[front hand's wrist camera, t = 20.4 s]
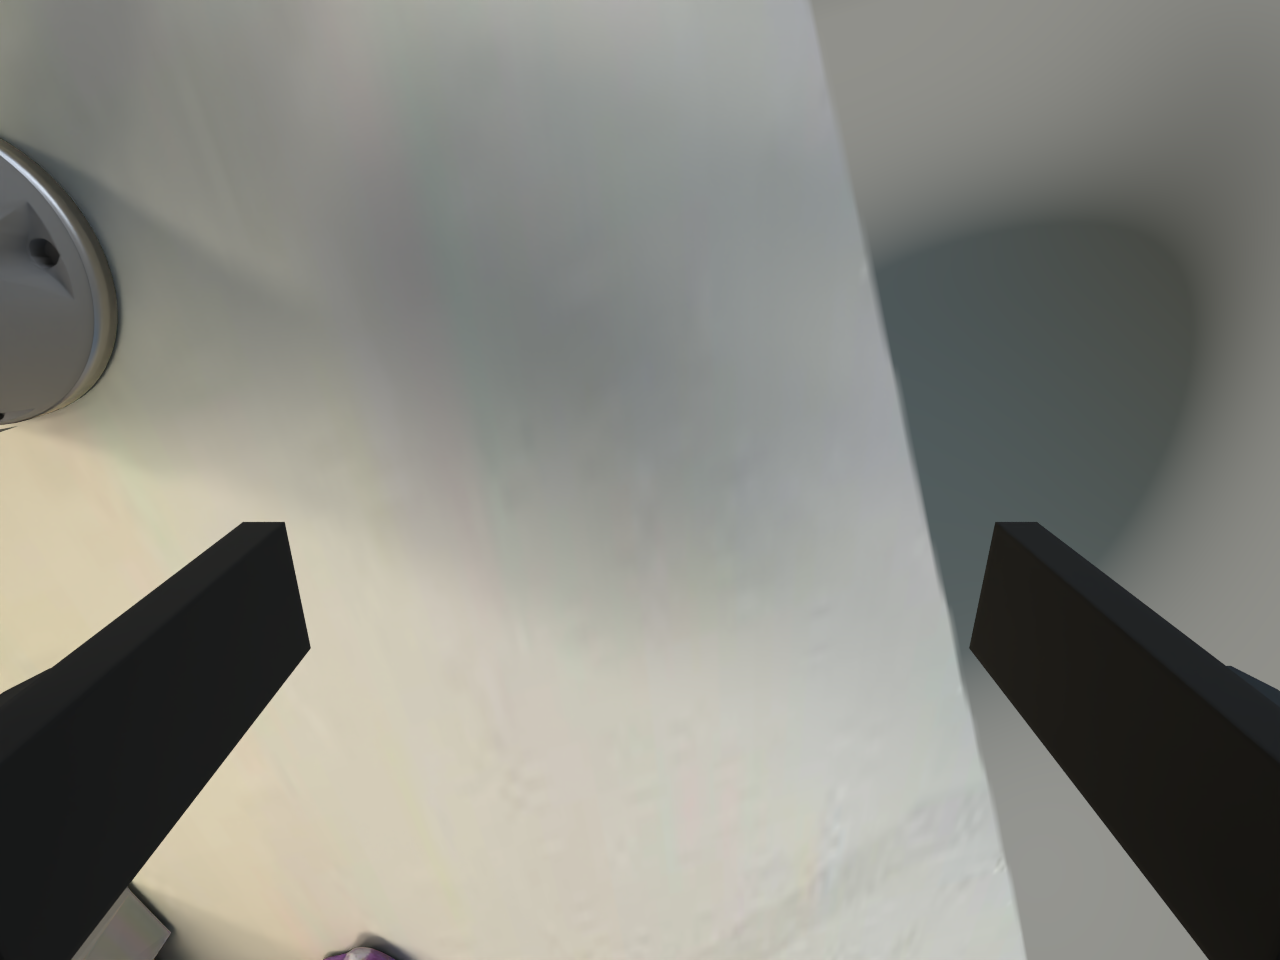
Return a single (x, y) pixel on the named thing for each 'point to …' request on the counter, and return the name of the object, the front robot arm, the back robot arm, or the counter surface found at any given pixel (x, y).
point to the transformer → (125, 933)
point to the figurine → (361, 955)
